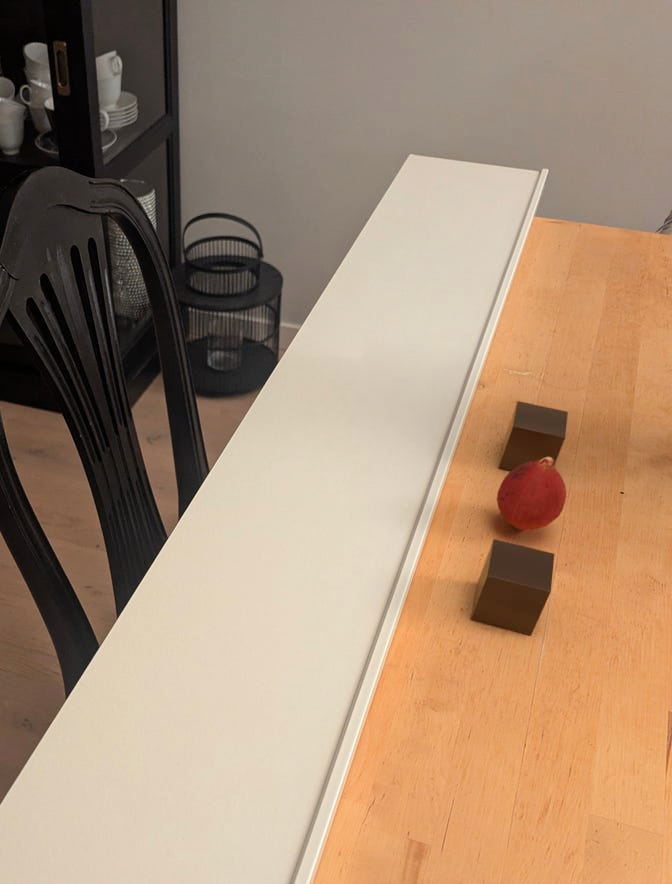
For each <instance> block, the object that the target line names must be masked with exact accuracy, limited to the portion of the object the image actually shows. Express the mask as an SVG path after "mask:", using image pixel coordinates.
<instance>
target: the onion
mask: <svg viewBox="0 0 672 884" xmlns="http://www.w3.org/2000/svg"><path fill="white" fill-rule="evenodd" d="M553 463H554V461H553V459H552V458H551V457H545V458H543V459H540V460H538V461H530V462H526V463H524V464H522V465H520V466H518V467H517V468H515V469H513V470H512V471H509V472H508V473H507V474H506V475H505V476H504V478H503V480H502V481H501V484H500V486H499V488H498V490H497V496H496V502H497V506H498V510H499V512H500V515H501V516H502V517H503V518H504V519H505V520H506V522H508V523H509V524H510V525H511V526H513V528H515V529H516V530H517V531H519V532H525V531H528V530H529V531H530V530H536V529H540V528H541V529H542V528H545V527H547V526H548V525H550V524H551V523H553V522H554V521H555V520H557V518H559V517H560V515H561V514H562V512H563V510H564V507H565V504H566V499H567V487H566V483H565V481H564V480H563V476H562V475H561V473H560V472H559V471H558V470H557V469H556V467H555V466H554V467H553V466H552V465H553Z"/></svg>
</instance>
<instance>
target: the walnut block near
mask: <svg viewBox="0 0 672 884" xmlns="http://www.w3.org/2000/svg"><path fill="white" fill-rule="evenodd" d="M554 563H555V553H554V552H549V551H545V550H541V549H537V548H533V547H529V546H525V545H521V544H516V543H512V542H508V541H504V540H500V539H495V538H494V539H493V540H492V543H491V545H490V547H489V550H488V553H487V555H486V557H485V561H484V564H483V566H482V569H481V572H480V575H479V578H478V579H477V583H476V589H475V594H474V600H473V605H472V611H471V617H470V620H471V621H474V622H479V623H481V624H486V625H488V626H489V625H490V626H493V627H497V628H500V629H505V630H509V631H512V632H516V633H520V634H523V635H528V636H532V635H533V632H534V630H535V628H536V626H537V623H538V621H539V619H540V617H541V615H542V612H543V610H544V608H545V607H546V606H545V605H546V603H547V601H548V599H549V597H550V595H551V592H552V585H553V573H554V565H555V564H554Z"/></svg>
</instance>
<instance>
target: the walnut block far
mask: <svg viewBox="0 0 672 884" xmlns="http://www.w3.org/2000/svg"><path fill="white" fill-rule="evenodd" d="M568 412H569V411H567V410H561V409H557V408H553V407H547V406H543V405H539V404H533V403H529V402H524V401H519V400H517V401H516V404H515V407H514V409H513V412H512V415H511V419H510V421H509V423H508V427H507V430H506V433H505V435H504V438H503V441H502V445H501V451H500V456H499V463H498V467H497V468H498V469H499V470H505V471H507V472H508V471H509V472H511V471H512V470H513V469H515V468H517V467H518V466H520V465H522V464H524V463H526V462H530V461H538V460H540V459H543V458H545V457H551V458H552V459H553V461H554V463H553V465H552V466H553V467H554V468H555V464H556V463H557V460H558V457H559V455H560V453H561V450H562V448H563V445H564V442H565V440H566V437H567V436H566V435H567V426H568V414H569V413H568Z"/></svg>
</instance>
